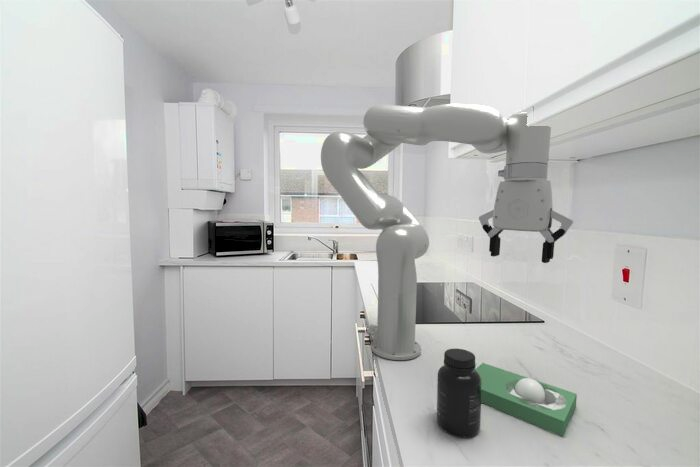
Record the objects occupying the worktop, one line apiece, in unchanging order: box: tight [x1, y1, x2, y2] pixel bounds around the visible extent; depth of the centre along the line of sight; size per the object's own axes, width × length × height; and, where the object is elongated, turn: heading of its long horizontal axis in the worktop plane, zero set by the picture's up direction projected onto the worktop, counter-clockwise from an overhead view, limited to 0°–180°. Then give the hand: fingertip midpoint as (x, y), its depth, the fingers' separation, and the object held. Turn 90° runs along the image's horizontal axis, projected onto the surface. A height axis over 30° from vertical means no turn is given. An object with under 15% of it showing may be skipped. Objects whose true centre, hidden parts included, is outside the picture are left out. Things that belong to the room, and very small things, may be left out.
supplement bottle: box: [436, 348, 482, 438], centre depth 53 cm, size 7×7×12 cm
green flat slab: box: [475, 362, 578, 437], centre depth 61 cm, size 17×11×2 cm, turn 47°
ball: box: [515, 377, 545, 404], centre depth 59 cm, size 5×5×5 cm
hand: (519, 258), depth 67 cm, fingers open, 9 cm apart
